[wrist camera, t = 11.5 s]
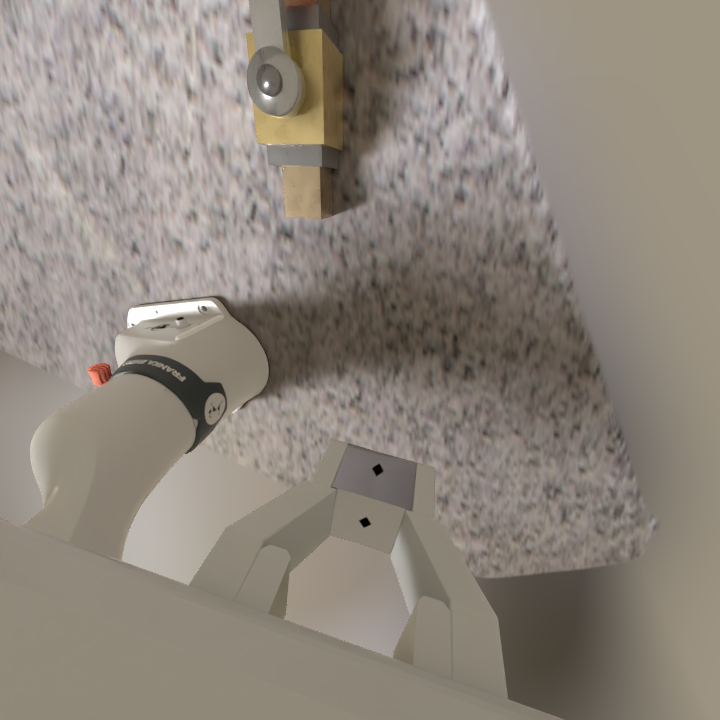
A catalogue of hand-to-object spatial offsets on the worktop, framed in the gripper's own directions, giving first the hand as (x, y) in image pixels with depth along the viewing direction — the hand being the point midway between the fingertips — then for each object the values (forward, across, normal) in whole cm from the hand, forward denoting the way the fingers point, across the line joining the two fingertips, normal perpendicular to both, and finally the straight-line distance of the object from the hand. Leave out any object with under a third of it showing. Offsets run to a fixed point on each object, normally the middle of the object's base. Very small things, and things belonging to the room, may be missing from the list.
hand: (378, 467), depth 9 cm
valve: (+31, +14, -12) cm, 36 cm away
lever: (+24, +15, -16) cm, 33 cm away
